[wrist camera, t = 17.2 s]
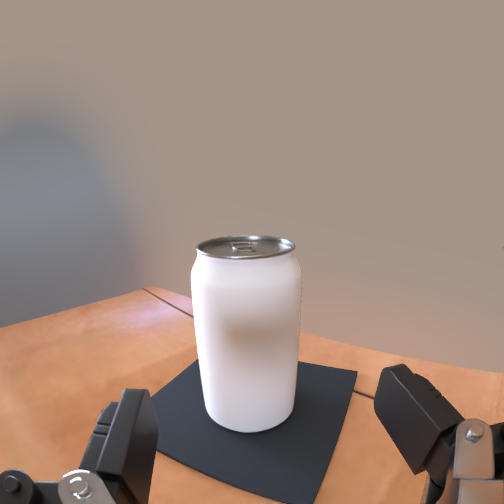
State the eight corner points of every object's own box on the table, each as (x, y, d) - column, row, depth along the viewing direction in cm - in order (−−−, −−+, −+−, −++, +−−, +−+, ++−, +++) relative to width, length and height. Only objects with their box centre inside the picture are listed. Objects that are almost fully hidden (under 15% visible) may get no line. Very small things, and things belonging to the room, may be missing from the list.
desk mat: (217, 344, 29) (217, 342, 29) (357, 373, 23) (357, 371, 23) (118, 426, 17) (116, 423, 17) (310, 509, 11) (311, 507, 11)
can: (208, 441, 16) (186, 262, 13) (203, 383, 22) (189, 237, 19) (305, 427, 17) (321, 254, 14) (281, 375, 23) (284, 232, 21)
